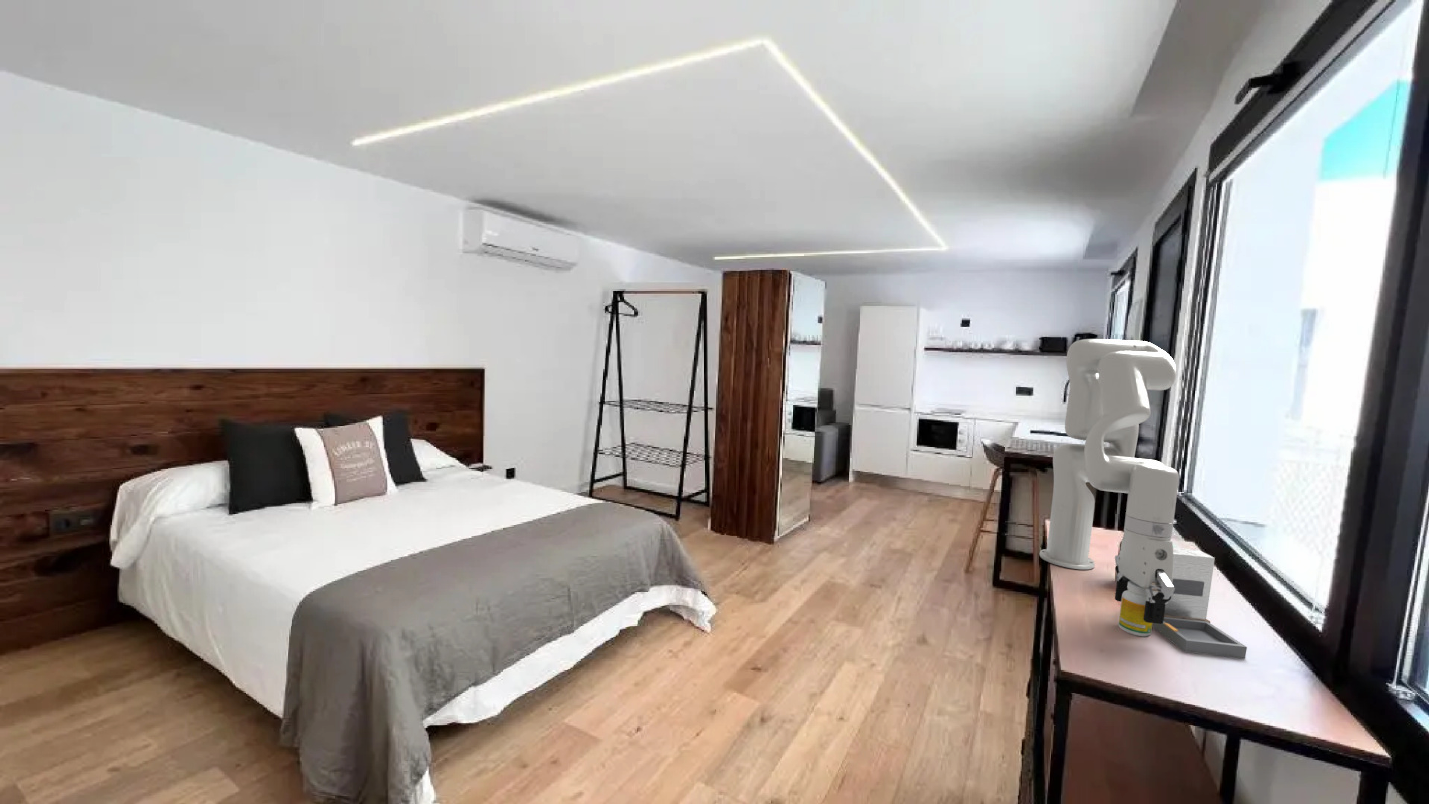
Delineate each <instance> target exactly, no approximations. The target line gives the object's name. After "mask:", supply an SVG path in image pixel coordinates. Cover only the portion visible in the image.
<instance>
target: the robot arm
mask: <svg viewBox="0 0 1429 804" xmlns="http://www.w3.org/2000/svg"><path fill="white" fill-rule="evenodd" d="M1065 359H1066V369H1067V370H1066V371H1067V374H1068V375H1067V376H1068V379H1069V391H1068V398H1067V406H1066V413H1065V421H1064V432H1065V434H1066V435H1067V436H1068V437H1069V438H1071V439H1074V440H1079V441H1085V444H1078V443H1067V444H1063V445H1060V446H1058V447H1056V449H1055V450H1054V452H1053V454H1052V455H1053V456H1052V467H1053V489H1052V490H1053V491H1052V498H1051V499H1052V501H1051V509H1050V518H1049V527H1048V534H1047V535H1048V536H1047V539H1046V542H1047V544H1046V548H1045V549H1041V550H1040V551H1039V557H1040V558H1041V559H1042V560H1043V561H1045V562H1048V563H1051V564H1052V565H1056V566H1060V567H1062V568H1067V569H1074V570H1091V569H1094V568H1095V564H1096V563H1095V561H1094V560H1093V559H1092V558H1090V557H1089V554H1090V547H1091V546H1090V545H1091V539H1092V538H1091V537H1092V530H1093V521H1094V514H1095V513H1094V512H1095V506H1096V505H1095V503H1096V499H1095V495H1094V494H1093V493H1092V491H1091V490H1090V489H1089V487H1088V486H1087V484H1086V483H1089V484H1090V485H1091V486H1092V487H1093V488H1095V489H1096V490H1099V491H1104V492H1113V493H1124V494H1127V501H1126V509H1125V511H1126V512H1125V519H1124V525H1123V526H1124V527H1123V536H1122V539H1121V540H1122V541H1121V545H1120V550H1119V554H1117V555H1115V556H1114V561H1115V568H1114V570H1115V572H1116V575H1115V580H1116V585H1115V593H1114V600H1116V601H1117V602H1121V599H1122V594H1123V592H1124V591H1126V590H1128V588H1127V585H1128V581H1132V582H1134V583H1135V584H1137V585H1139V586H1140V587H1142V588H1144V589H1145V590H1146V593H1147V597H1148V600H1149V601H1146V603H1145V611H1144V621H1145V622H1148V623H1157V624H1162V623H1163V621H1164V613H1165V605H1167V604H1168V601H1169V600H1170V599H1171V596H1172V594H1173V592H1174V590H1175V588H1174V586H1173V585H1172V580H1173V560H1174V559H1173V547H1174V546H1173V541H1172V536H1173V530H1174V529H1173V528H1174V521H1175V513H1176V503H1177V497H1178V488H1179V479H1180V478H1179V477H1180V475H1179V472H1178V471H1177V470H1176V469H1175V468H1173V467H1170V466H1166V465H1165V464H1164V463H1162V462H1161V461H1158V460H1155V459H1151V458H1150V459H1148V458H1140V457H1139V458H1137V457H1135V455H1136V451H1137V450H1136V449H1137V443H1138V438H1139V431H1140V425H1139V424H1141V423H1143V422H1145V421H1147V420H1148V419H1149V418H1150V416H1151V413H1152V411H1151V406H1150V400H1149V394H1148V390H1150V391H1164V390H1165V391H1166V390H1168V389H1170V388H1172V386H1173V385H1174V383H1175V381H1176V380H1177V367H1176V363H1175V362H1174V359H1173V358H1172V356H1170V354H1169V353H1167V352H1166V351H1165V350H1163V349H1161V348H1160V347H1158V346H1157V345H1155V344H1153V343H1151V342H1150V341H1149V342H1148V341H1145V340H1144V341H1143V340H1125V339H1123V340H1122V339H1111V338H1110V339H1109V338H1105V339H1104V338H1086V339H1080V340H1076V341H1074V342H1073V343H1072V344H1071V345H1070V346H1069V348H1068V350H1067V354H1066V358H1065ZM1105 443H1110V445H1109V446H1104V445H1105ZM1150 585H1156V586H1150ZM1153 591H1158V593H1157V594H1156V595H1154V594H1153Z"/></svg>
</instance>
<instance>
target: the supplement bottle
mask: <svg viewBox="0 0 1429 804" xmlns="http://www.w3.org/2000/svg"><path fill="white" fill-rule="evenodd" d="M1150 586H1151V585H1150ZM1127 588H1128V590H1126V591H1124V592H1123V594H1122V599H1121V601H1120V607H1119V608H1120V609H1119V616H1118V625H1117V626H1118V627H1119V628H1120V629H1121V630H1122V631H1123V632H1126V633H1128V634H1131V635H1134V636H1137V635H1138V636H1137V637H1148V636H1150V635H1151V634H1152V628H1153V627H1152V623H1148V622H1145V621H1144V611H1145V603H1146V601H1149V600H1148V597H1147V593H1146V590H1145V589H1144V588H1142V587H1140V586H1139V585H1137V584H1135V583H1134V582H1132V581H1128V585H1127Z"/></svg>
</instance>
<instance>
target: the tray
mask: <svg viewBox="0 0 1429 804" xmlns="http://www.w3.org/2000/svg"><path fill="white" fill-rule="evenodd" d="M1152 628H1153V629H1154V630H1156V631H1157V632H1159V633H1160V634H1161V635H1162V636H1164V637H1165V638H1166V639H1168V640H1169V641H1171V643H1173V644H1174V645H1175V646H1177V647H1178V648H1179V649H1180V650H1182V651H1183V652H1185V653H1194V654H1202V655H1203V654H1204V655H1212V656H1221V657H1230V658H1237V659H1238V658H1240V659H1246V656H1247V654H1246V653H1247V651H1248V650H1247V649H1248V646H1246V645H1245V644H1243V643H1241V642H1240V641H1238V639H1235V638H1234V637H1233V636H1231V635H1229V634H1227V633H1226V632H1224V631H1223V630H1222V629H1220V628H1218V627H1217V626H1215V625H1213V624H1212V623H1211V622H1210V623H1209V622H1207V621H1198V620H1189V619H1179V618H1170V617H1164V621H1163V623H1162V624H1157V623H1152Z"/></svg>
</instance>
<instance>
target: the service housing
mask: <svg viewBox="0 0 1429 804" xmlns="http://www.w3.org/2000/svg"><path fill="white" fill-rule="evenodd" d="M1215 558H1216V557H1215V556H1214V557H1213V556H1212V555H1210V554H1209V553H1206V552H1203V551H1201V550H1200V549H1196V548H1186V547H1185V548H1183V547H1177V546H1176V547H1174V546H1173V559H1174V560H1173V580H1172V585H1173V586H1174V588H1175V590H1174V592H1173V594H1172V596H1171V599H1170V600H1169V601H1168V604H1167V605H1165V613H1164V617H1170V618H1179V619H1189V620H1198V621H1207V622H1209V623H1210V624H1211V620H1209V619H1207V615H1208V609H1209V602H1210V595H1211V594H1210V593H1211V589H1212V580H1213V574H1214V573H1213V572H1214V566H1215ZM1151 586H1156V585H1151ZM1157 593H1158V591H1153V594H1154V595H1156V594H1157Z"/></svg>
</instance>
